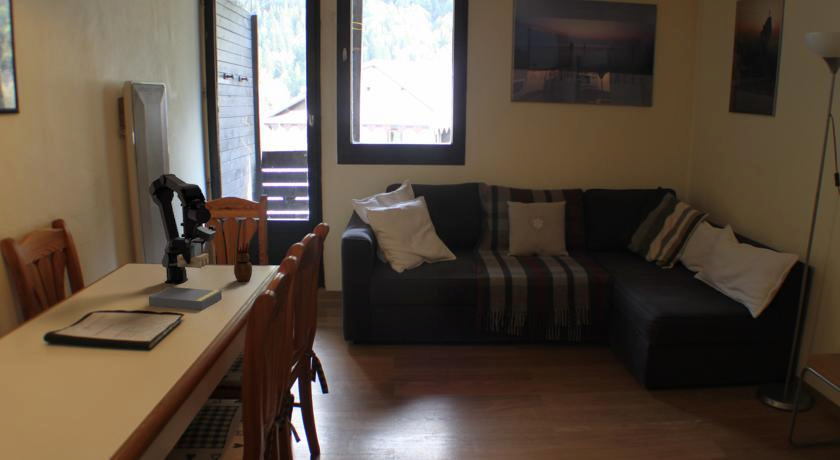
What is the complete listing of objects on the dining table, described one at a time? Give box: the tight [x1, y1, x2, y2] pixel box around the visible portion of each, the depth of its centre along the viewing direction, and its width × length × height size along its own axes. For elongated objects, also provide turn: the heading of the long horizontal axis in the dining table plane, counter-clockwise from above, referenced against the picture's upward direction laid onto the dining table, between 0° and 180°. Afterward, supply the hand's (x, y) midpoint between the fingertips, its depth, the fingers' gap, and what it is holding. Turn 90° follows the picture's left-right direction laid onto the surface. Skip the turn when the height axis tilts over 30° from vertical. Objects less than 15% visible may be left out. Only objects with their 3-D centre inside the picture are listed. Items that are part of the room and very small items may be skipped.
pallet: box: [177, 252, 210, 269], centre depth 249 cm, size 9×6×4 cm, turn 77°
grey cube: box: [191, 243, 202, 256], centre depth 248 cm, size 4×4×4 cm
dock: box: [148, 286, 222, 311], centre depth 237 cm, size 20×13×3 cm, turn 77°
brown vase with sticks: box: [233, 242, 253, 282], centre depth 264 cm, size 7×6×15 cm
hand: (193, 261), depth 249 cm, fingers closed on pallet, 6 cm apart
